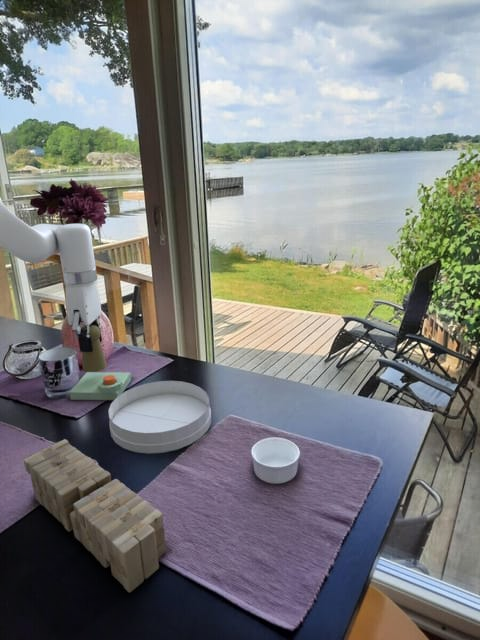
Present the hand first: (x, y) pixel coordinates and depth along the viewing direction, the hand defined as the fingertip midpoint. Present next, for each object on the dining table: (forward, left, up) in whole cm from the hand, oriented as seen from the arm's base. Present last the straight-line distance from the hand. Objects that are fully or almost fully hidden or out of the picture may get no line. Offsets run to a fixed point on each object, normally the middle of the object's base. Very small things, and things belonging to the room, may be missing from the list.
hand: (91, 346), depth 111 cm
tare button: (+6, -5, -8) cm, 11 cm away
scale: (+2, -2, -12) cm, 12 cm away
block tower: (+17, -46, -12) cm, 51 cm away
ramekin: (+46, -32, -12) cm, 57 cm away
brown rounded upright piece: (0, 0, -6) cm, 6 cm away
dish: (+21, -17, -12) cm, 29 cm away
